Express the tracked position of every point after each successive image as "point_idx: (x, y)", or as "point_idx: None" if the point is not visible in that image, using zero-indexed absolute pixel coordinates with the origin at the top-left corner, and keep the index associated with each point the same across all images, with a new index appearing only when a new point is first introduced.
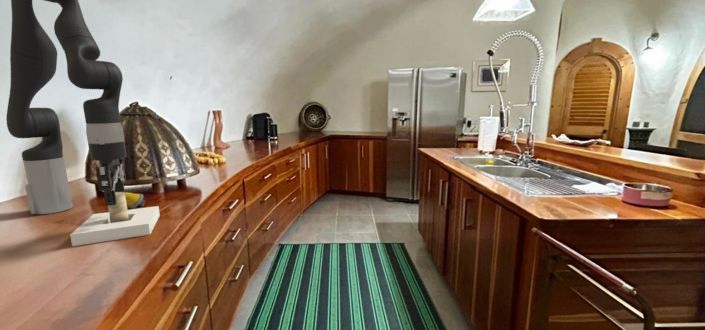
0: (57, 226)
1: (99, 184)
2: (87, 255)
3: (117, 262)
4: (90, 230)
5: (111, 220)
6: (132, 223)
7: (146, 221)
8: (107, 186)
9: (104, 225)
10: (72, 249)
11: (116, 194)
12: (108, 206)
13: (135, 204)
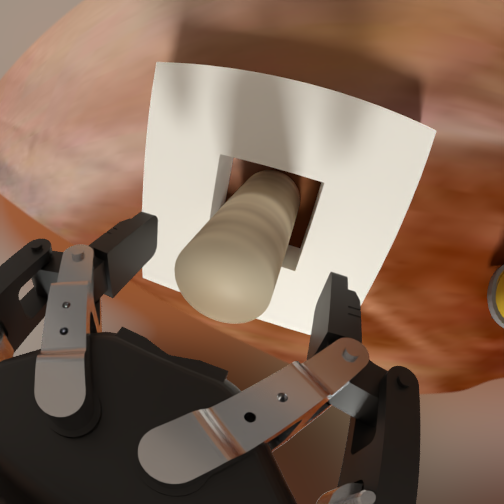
0: (480, 24)
1: (10, 265)
2: (95, 123)
3: (50, 186)
4: (163, 119)
5: (243, 186)
6: (166, 244)
7: (166, 278)
8: (34, 286)
9: (195, 161)
10: (154, 72)
11: (203, 286)
12: (225, 209)
13: (492, 286)
